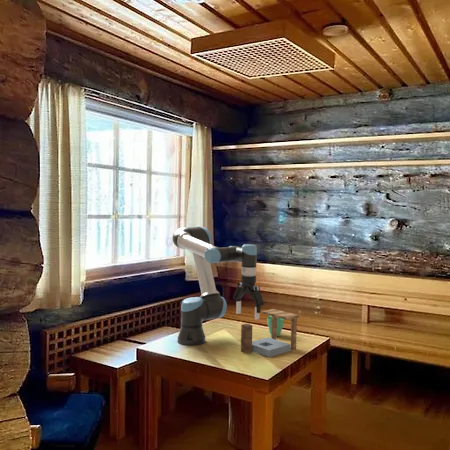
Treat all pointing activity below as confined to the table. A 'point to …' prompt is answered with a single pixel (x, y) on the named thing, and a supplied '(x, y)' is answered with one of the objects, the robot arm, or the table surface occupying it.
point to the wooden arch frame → (286, 316)
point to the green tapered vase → (279, 325)
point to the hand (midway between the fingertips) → (247, 316)
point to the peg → (246, 338)
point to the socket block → (270, 347)
